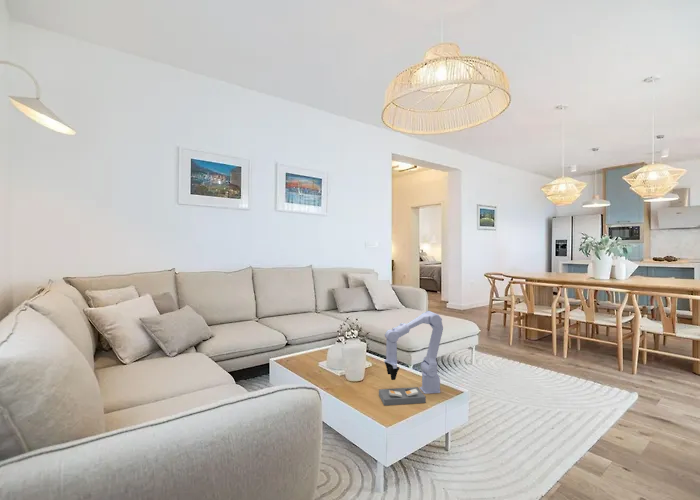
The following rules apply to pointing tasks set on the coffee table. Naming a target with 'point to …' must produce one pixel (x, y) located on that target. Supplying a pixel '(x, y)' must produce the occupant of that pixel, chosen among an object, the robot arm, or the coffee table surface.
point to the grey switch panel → (397, 400)
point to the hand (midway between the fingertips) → (391, 376)
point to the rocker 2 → (411, 392)
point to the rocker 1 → (395, 393)
